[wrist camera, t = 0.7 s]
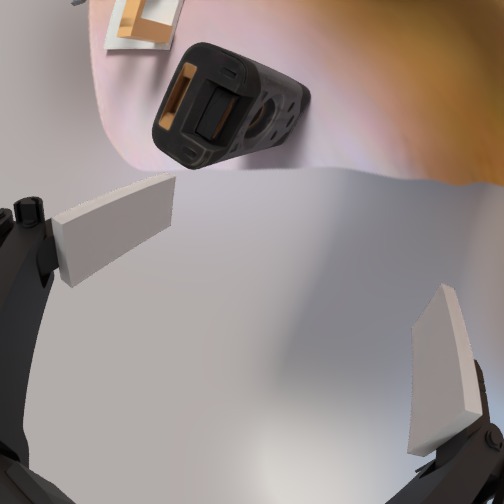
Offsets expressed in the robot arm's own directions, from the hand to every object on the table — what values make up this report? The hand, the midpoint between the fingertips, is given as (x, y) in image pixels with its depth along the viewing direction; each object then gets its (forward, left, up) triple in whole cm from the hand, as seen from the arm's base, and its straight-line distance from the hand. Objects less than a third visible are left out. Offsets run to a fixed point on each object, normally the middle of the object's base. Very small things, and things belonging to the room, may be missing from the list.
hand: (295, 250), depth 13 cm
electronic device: (-4, -11, -27) cm, 29 cm away
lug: (-14, -32, -25) cm, 43 cm away
